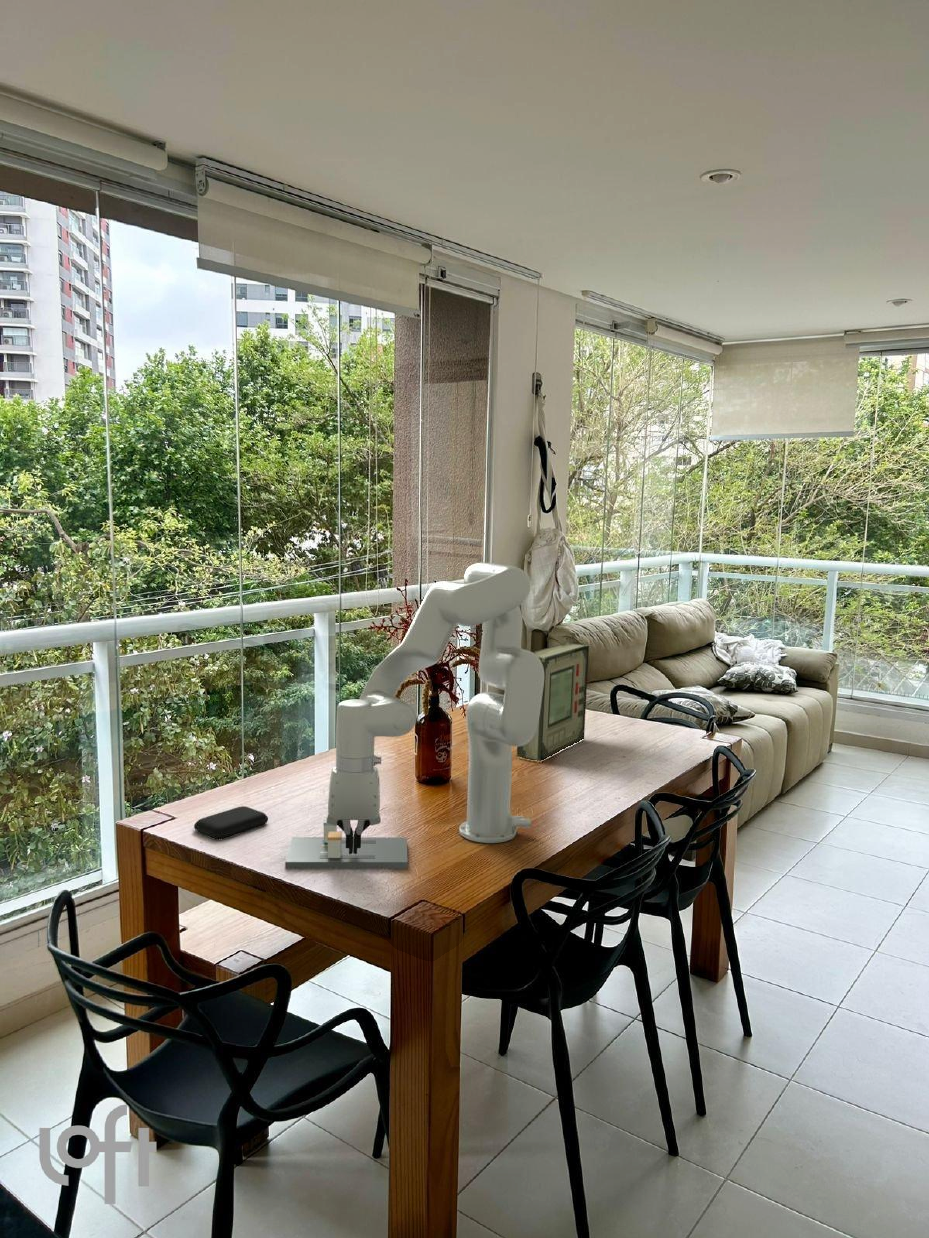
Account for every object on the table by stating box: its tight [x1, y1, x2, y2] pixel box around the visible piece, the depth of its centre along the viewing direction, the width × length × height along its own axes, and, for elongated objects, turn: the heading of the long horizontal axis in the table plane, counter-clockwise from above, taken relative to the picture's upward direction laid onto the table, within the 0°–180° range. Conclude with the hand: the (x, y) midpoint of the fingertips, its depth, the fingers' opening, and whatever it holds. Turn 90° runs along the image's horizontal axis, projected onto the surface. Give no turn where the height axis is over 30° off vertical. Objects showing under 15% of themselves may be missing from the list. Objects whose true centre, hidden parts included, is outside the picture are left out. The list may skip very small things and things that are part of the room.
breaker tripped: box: [328, 831, 343, 858], centre depth 180 cm, size 3×3×4 cm
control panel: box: [516, 642, 590, 761], centre depth 268 cm, size 30×8×30 cm, turn 148°
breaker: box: [323, 816, 338, 843], centre depth 188 cm, size 3×3×4 cm
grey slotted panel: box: [284, 836, 408, 870], centre depth 185 cm, size 24×13×2 cm, turn 94°
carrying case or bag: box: [193, 805, 269, 841], centre depth 199 cm, size 11×3×15 cm
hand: (353, 851), depth 181 cm, fingers closed
